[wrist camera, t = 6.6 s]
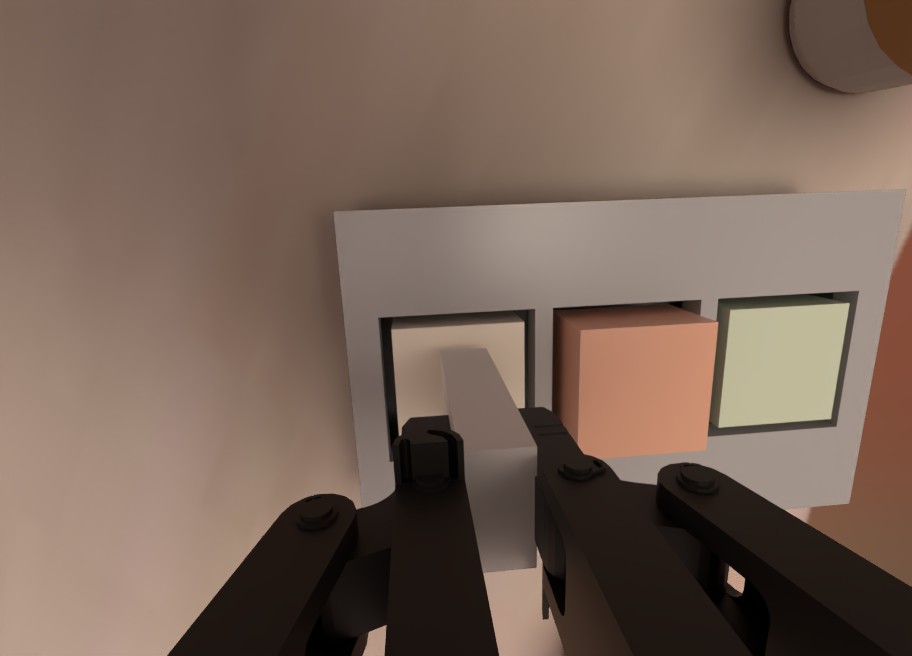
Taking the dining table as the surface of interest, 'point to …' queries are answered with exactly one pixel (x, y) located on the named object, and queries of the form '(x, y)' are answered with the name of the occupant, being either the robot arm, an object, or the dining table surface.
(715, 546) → the robot arm
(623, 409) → the key terracotta
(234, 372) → the dining table surface
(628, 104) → the dining table surface
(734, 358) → the key sage
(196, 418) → the dining table surface
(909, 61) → the coffee cup
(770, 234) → the keypad
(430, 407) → the key cream
